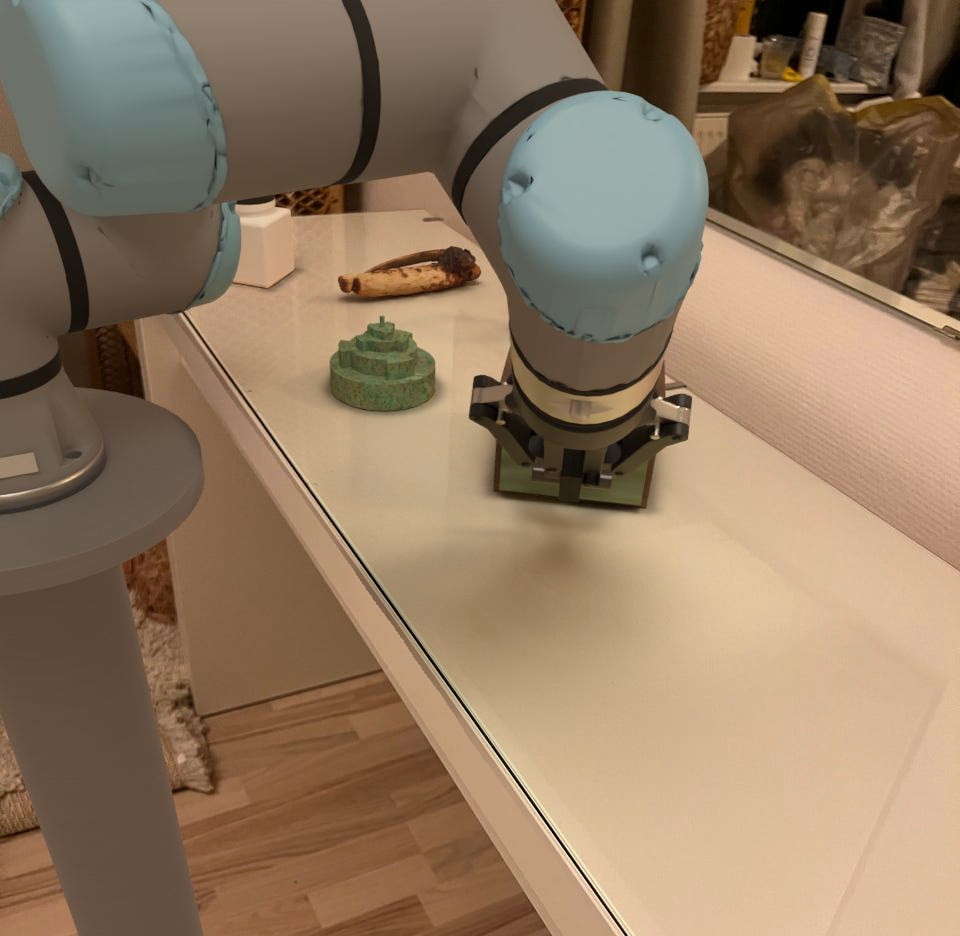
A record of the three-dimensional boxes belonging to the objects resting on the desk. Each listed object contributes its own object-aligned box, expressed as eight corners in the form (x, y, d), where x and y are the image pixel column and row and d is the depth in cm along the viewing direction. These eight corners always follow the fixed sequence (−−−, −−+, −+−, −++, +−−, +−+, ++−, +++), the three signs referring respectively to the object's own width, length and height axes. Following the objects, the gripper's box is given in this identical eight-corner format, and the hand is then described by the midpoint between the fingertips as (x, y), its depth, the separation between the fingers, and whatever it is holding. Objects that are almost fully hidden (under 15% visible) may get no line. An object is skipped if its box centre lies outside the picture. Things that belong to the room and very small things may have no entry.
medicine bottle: (295, 270, 120) (288, 163, 112) (268, 289, 114) (259, 178, 107) (242, 261, 121) (231, 155, 114) (213, 280, 116) (199, 169, 108)
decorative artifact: (353, 418, 90) (452, 400, 94) (351, 344, 86) (454, 328, 90) (316, 375, 97) (409, 360, 101) (311, 304, 93) (409, 291, 96)
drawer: (640, 533, 76) (656, 441, 71) (492, 517, 76) (498, 425, 72) (641, 428, 89) (655, 345, 84) (516, 415, 90) (522, 332, 85)
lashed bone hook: (453, 270, 124) (318, 285, 116) (455, 230, 121) (316, 243, 113) (490, 292, 117) (349, 309, 110) (492, 251, 114) (348, 266, 107)
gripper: (447, 415, 49) (476, 523, 73) (710, 442, 48) (653, 542, 72) (466, 273, 50) (488, 425, 74) (725, 297, 49) (664, 443, 73)
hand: (570, 483), depth 73 cm, fingers closed
